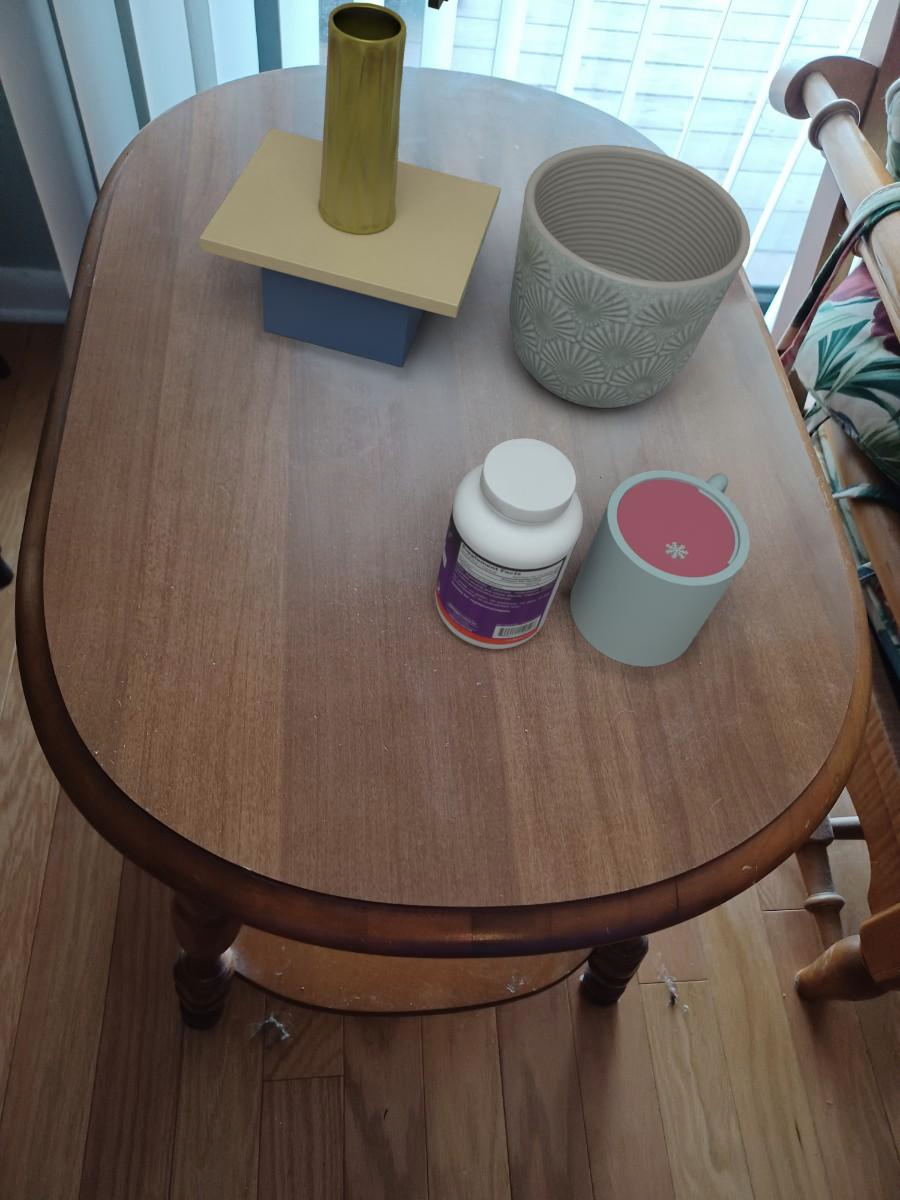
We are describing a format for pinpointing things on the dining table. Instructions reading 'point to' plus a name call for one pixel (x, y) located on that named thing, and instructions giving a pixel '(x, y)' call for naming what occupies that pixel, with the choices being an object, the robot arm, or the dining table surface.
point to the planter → (619, 271)
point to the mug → (658, 566)
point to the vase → (362, 117)
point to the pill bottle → (508, 544)
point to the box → (350, 250)
